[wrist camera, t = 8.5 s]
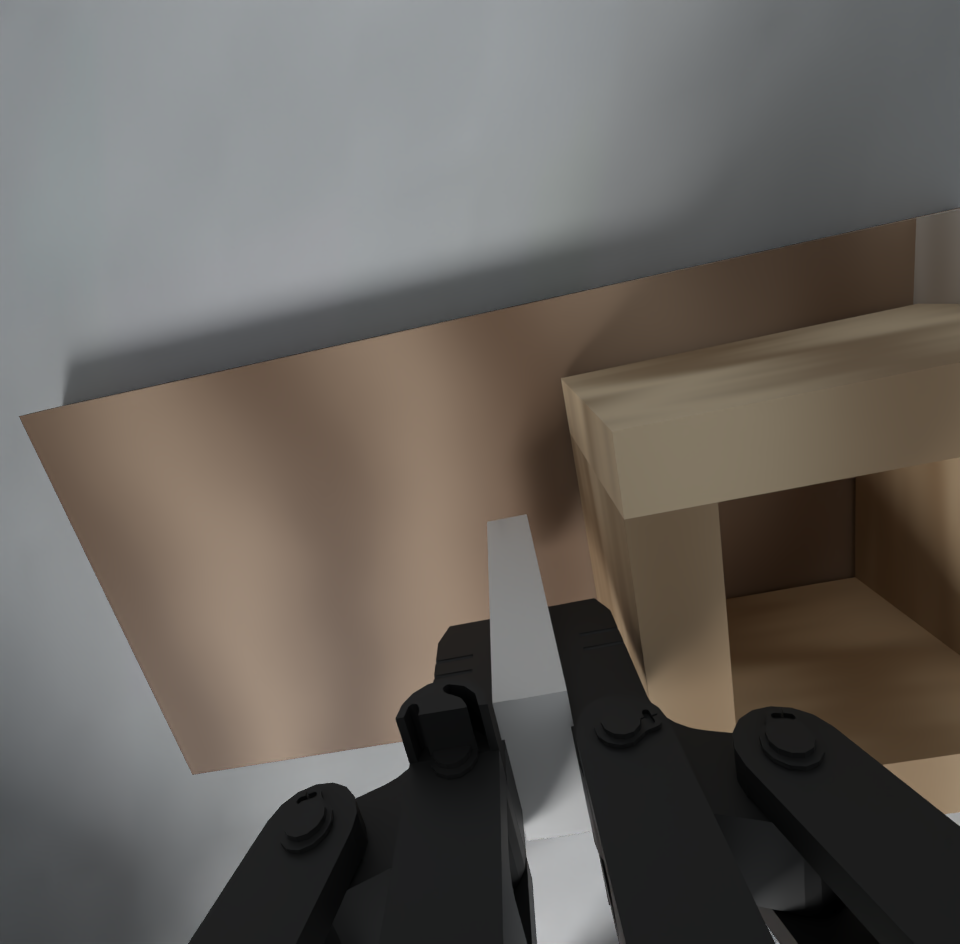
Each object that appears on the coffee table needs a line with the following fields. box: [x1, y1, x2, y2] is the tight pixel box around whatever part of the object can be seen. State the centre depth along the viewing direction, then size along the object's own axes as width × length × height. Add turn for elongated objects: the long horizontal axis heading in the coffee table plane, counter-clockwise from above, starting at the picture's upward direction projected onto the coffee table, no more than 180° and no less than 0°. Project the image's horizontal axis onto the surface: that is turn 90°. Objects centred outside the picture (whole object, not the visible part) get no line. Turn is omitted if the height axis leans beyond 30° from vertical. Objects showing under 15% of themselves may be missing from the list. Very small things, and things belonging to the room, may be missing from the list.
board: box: [19, 208, 960, 775], centre depth 12 cm, size 26×13×10 cm, turn 102°
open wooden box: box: [561, 304, 960, 814], centre depth 12 cm, size 9×9×6 cm
